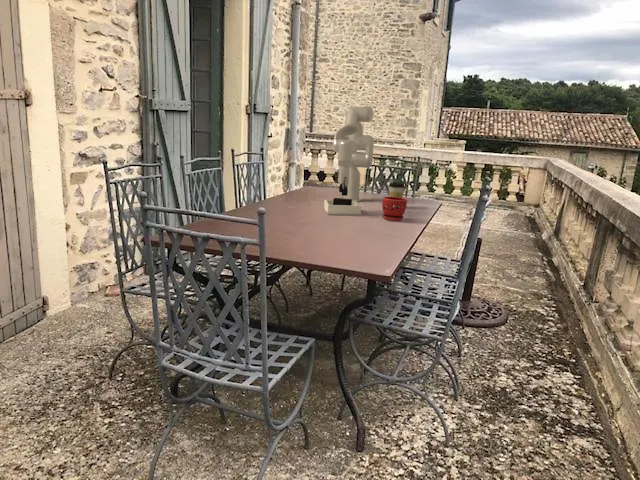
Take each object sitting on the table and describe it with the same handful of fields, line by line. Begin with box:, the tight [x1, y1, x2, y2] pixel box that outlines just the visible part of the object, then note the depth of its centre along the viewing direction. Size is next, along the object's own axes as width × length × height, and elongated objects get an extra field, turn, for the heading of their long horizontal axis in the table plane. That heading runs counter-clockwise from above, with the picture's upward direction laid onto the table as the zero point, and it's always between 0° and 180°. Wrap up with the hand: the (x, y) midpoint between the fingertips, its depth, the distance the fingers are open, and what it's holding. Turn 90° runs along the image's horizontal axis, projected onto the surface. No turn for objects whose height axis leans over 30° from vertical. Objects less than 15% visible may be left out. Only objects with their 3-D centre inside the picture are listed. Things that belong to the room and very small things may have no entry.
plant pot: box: [381, 196, 408, 222], centre depth 264 cm, size 13×13×12 cm
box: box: [323, 199, 362, 217], centre depth 277 cm, size 17×19×6 cm
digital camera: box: [332, 197, 352, 206], centre depth 277 cm, size 10×5×7 cm, turn 81°
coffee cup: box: [388, 181, 406, 207], centre depth 300 cm, size 10×10×15 cm
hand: (343, 193), depth 276 cm, fingers open, 9 cm apart
